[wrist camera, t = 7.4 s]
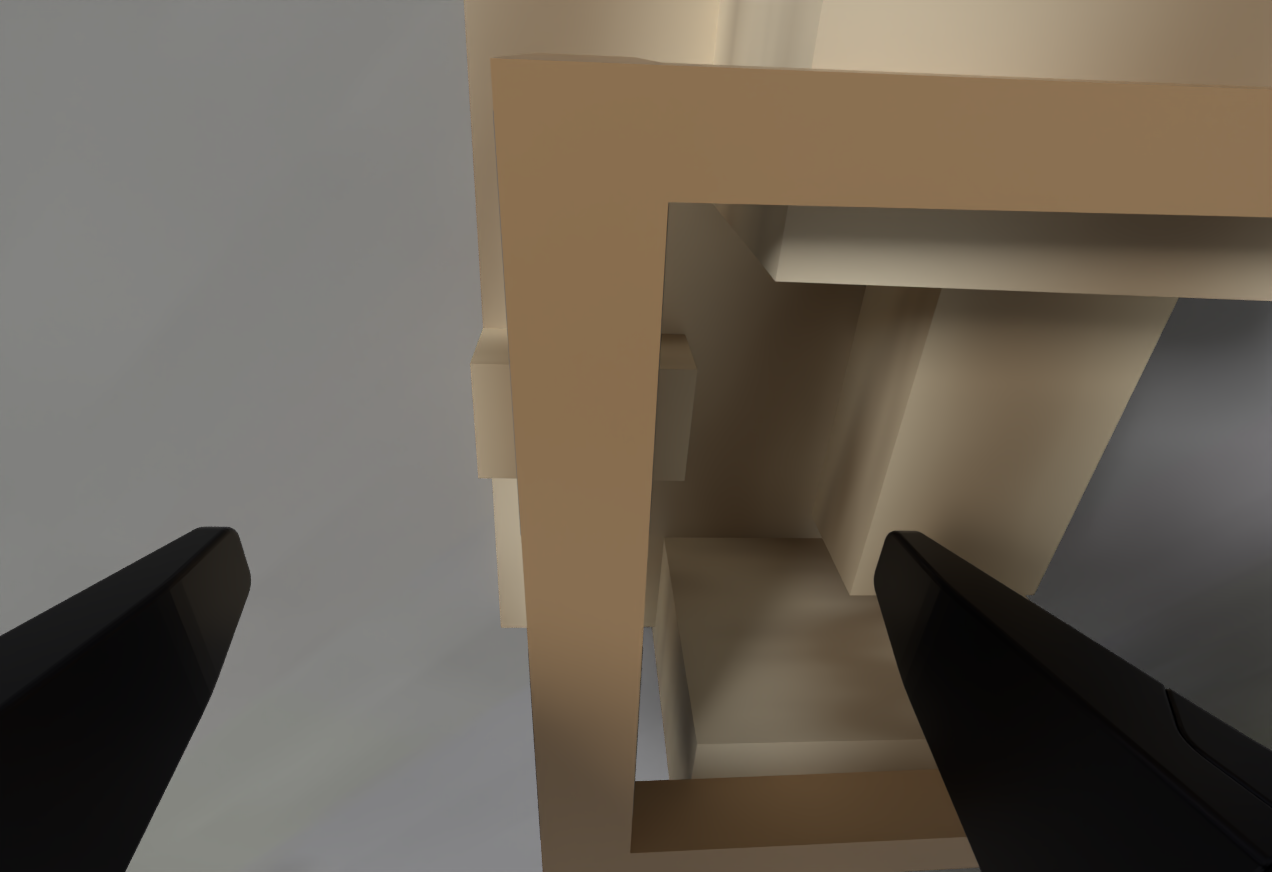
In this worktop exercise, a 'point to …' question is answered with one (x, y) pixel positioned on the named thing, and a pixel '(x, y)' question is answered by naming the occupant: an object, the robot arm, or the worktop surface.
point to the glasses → (630, 359)
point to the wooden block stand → (864, 359)
